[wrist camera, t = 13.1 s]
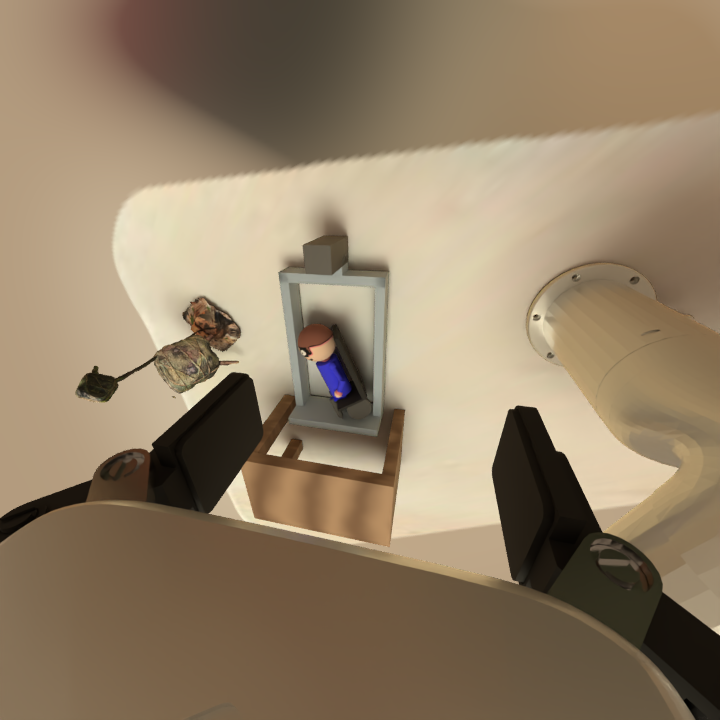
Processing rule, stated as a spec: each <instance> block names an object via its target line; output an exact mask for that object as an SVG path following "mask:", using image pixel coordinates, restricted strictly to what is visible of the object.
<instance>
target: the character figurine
mask: <svg viewBox="0 0 720 720" xmlns="http://www.w3.org/2000/svg"><path fill="white" fill-rule="evenodd" d="M332 329H333V332H332V331H331V330H330V329H329V328H328V327H326V326H325V325H322V324H311V325H309V326H307V327H305V328H304V329H303V330H302V331H301V332H300V334H299V337H298V348H299V351H300V352H301V354H302V355H303V356H304V357H305V358H307V359H308V360H311V361H317V363H316V365H317V367H318V369H319V371H320V373H321V375H322V377H323V379H324V381H325V383H326V384H327V386H328V388H329V390H330V391H329V392H330V394H331V396H332V397H331V398H330V399H329V400H330V402H331V404H332V406H333V408H334V410H335V411H336V413H337V415H338V417H340V418H342V419H343V413H342V410H344V409H346V408H347V412H348V414H349V416H350V417H352V418H354V419H363V418H365V417H367V416H368V415H369V414H370V412H371V404H370V401H369V400H368V399H367V394H366V391H365V389H364V387H363V383H362V379H361V377H360V374H359V372H358V370H357V368H356V366H355V364H354V362H353V359H352V357H351V355H350V353H349V351H348V349H347V346H346V344H345V342H344V340H343V338H342V336H341V334H340V331H339V329H338V327H337V325H336V324H335V325H333V326H332ZM335 345H336V346H337V348H338V350H339V352H340V354H341V356H342V358H343V360H344V363H345V365H346V367H347V369H348V371H349V373H350V375H351V377H352V379H353V380H352V381H350V382H349V380H348V378H347V375H346V373H345V371H344V369H343V367H342V365H341V363H340V361H339V359H338V357H337V355H336V354H335V353H333V351H334V349H335Z"/></svg>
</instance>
